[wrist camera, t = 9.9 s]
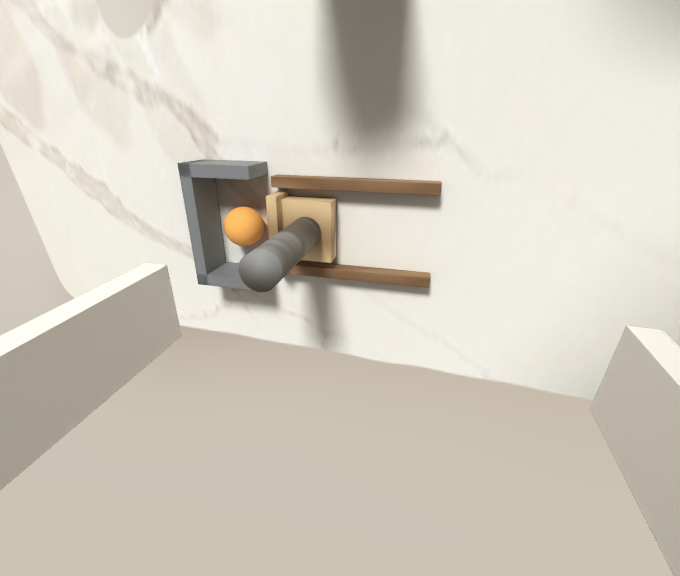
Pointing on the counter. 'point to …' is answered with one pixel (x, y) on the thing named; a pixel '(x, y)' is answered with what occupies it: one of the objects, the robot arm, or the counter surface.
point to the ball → (243, 226)
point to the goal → (212, 216)
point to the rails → (362, 186)
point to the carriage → (291, 239)
